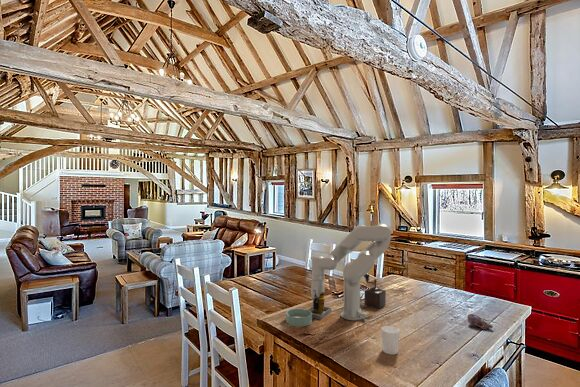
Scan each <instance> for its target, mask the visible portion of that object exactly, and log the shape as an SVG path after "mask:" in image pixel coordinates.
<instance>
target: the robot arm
mask: <svg viewBox="0 0 580 387" xmlns="http://www.w3.org/2000/svg"><path fill="white" fill-rule="evenodd" d="M391 234H392V231H391V229H390V227H389V225H387V224H386V223H379V224H377V225H364V224H357V226H355V227H354V229H352V231H351V232H349V234H348V235H347V236H345V237H344V239H342V240H341V241H340V243H339V244H338V245H336V247H335V248H334V249H332V251H331V252H330V253H329V254H328V255H327V256H326V257H324V256H323V255H314V256H312V257H311V287H310V297H311V299H312V303H313V304H312V306H313V308H314V309H319V302H318V298H319V297H320V294H321V293H323V292H324V293H325V292H326V291H325V280H326V279H325V278H326V277H325V270H326V271H334V270H335V269H336V268H337V266H338V264H339V263H340V262H341V261H342V260H343V259H344V258H345V257H346V256H347V255H349V254H351V253H352V252H354V251H355V250H356V249H357V248H358V247H359V246H360V245H361V244H362V243H363V242H371V243H370V244H369V245H368V246H367V247H365V248H364V249H363V250H362V251H360V252H359V253H358V255H357V257H356V258H355V259H354V260H353V261H350V262H347V263H346V264H345V265H344V266H343V270H342V276H343V306H342V307H343V308H342V309H343V311H342V312H340V317H341V318H342V319H343V320H344V319H345V320H347V321H359V320H362V319H363V318H367V317H368V313H367V312H366V311H362V308H361V279H362V278H364V275H365V274H369V272H370V271H371V270H372V269H373V268H374V266H375V263H376V260H378V259H379V258H380V257H381V255H383V254H384V253H385V252H386V251H387V250H388V248H389V246H390V245H391V240H392V239H391V237H392V236H391ZM315 296H317V297H315ZM315 298H317V300H316V299H315ZM314 309H313V310H314Z"/></svg>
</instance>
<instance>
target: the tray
mask: <svg viewBox="0 0 580 387" xmlns="http://www.w3.org/2000/svg"><path fill="white" fill-rule="evenodd" d="M306 309H307V310H314V308H313V305H312V306H310V307H309V308H306ZM331 312H332V307H328V306H324V313H323V314H319V315H315V314H312V319H316V320H320V321H321V320H322V319H323V318H325V317H326V316H328V314H330V313H331Z"/></svg>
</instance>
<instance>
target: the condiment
mask: <svg viewBox="0 0 580 387" xmlns="http://www.w3.org/2000/svg"><path fill="white" fill-rule="evenodd" d="M315 297H317V296H315ZM325 298H326V297H325V292H323V293H321V294H320V297H319V298H318V302H319V309H313V310H309V311H311V312H312V314H315V315H322V314H323V313H324V312H325V310H324V307H325ZM315 299H316V300H317V298H315Z"/></svg>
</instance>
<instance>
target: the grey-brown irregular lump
mask: <svg viewBox="0 0 580 387" xmlns="http://www.w3.org/2000/svg"><path fill="white" fill-rule="evenodd" d="M467 322H468V324H469V325H471V326H477V327H479V328H480V329H481V330H488V329H489V330H491V329H493V327H494V326H493V324H491V323H489V322H487V321H485V320H484V319H483V318H482V317H480V316H479V315H476V314H473V313H469V314H468V315H467Z"/></svg>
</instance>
